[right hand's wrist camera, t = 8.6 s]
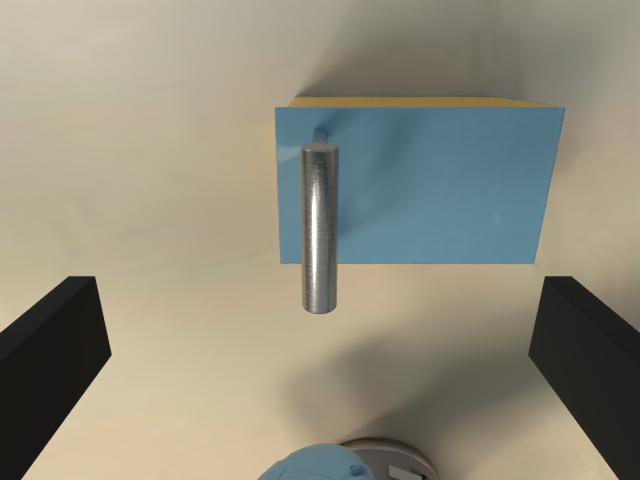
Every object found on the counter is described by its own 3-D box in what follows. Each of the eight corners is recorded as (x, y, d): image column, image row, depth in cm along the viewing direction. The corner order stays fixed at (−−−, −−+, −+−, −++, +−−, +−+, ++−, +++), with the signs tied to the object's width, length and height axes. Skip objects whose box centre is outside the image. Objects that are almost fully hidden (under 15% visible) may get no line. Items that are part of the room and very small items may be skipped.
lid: (281, 258, 28) (266, 332, 20) (276, 106, 25) (255, 124, 17) (528, 258, 28) (609, 332, 20) (558, 106, 25) (669, 124, 17)
